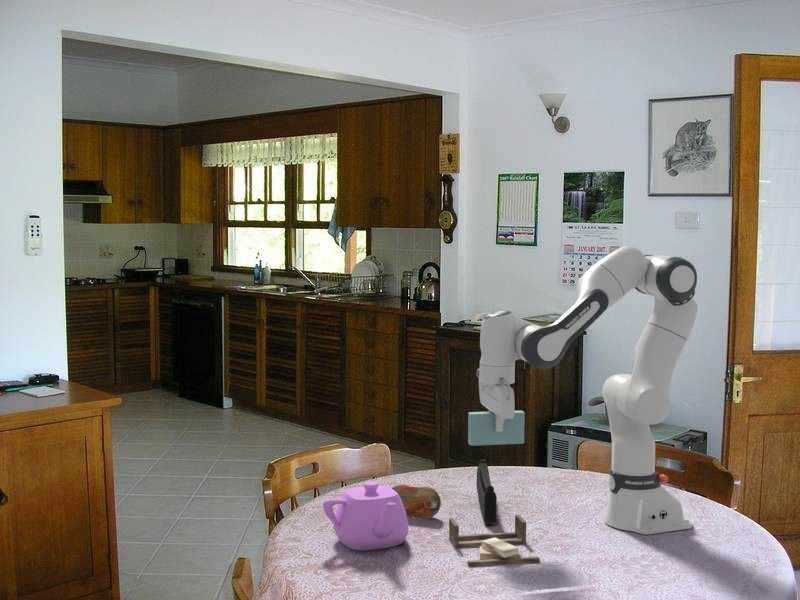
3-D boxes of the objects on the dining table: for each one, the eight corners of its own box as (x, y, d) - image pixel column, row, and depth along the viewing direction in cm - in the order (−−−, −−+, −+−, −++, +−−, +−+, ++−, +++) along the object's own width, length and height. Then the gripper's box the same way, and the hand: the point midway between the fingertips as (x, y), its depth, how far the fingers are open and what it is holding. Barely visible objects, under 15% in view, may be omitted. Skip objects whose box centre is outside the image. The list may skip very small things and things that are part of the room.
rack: (518, 537, 223) (518, 514, 223) (541, 564, 206) (542, 539, 205) (449, 541, 220) (449, 518, 220) (466, 568, 203) (466, 543, 202)
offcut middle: (518, 553, 211) (518, 547, 210) (519, 561, 206) (519, 554, 206) (480, 552, 212) (480, 546, 211) (479, 559, 207) (479, 553, 207)
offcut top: (518, 554, 206) (518, 547, 206) (504, 557, 204) (504, 551, 204) (495, 543, 213) (495, 537, 213) (481, 546, 211) (481, 540, 211)
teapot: (312, 538, 222) (312, 479, 221) (390, 527, 231) (390, 470, 229) (343, 570, 201) (343, 506, 200) (427, 557, 210) (427, 495, 209)
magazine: (498, 497, 227) (489, 437, 255) (485, 497, 227) (477, 437, 255) (495, 552, 233) (487, 488, 261) (483, 552, 233) (475, 488, 261)
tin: (386, 514, 241) (386, 484, 241) (390, 510, 244) (390, 481, 244) (438, 521, 236) (438, 490, 235) (442, 517, 239) (442, 487, 238)
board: (521, 441, 227) (521, 410, 226) (524, 443, 224) (524, 412, 224) (468, 443, 224) (468, 412, 224) (470, 445, 222) (470, 414, 221)
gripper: (521, 381, 213) (520, 438, 214) (498, 368, 233) (497, 420, 235) (496, 382, 212) (495, 439, 213) (475, 369, 232) (474, 421, 233)
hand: (496, 429), depth 224 cm, fingers closed on board, 2 cm apart
